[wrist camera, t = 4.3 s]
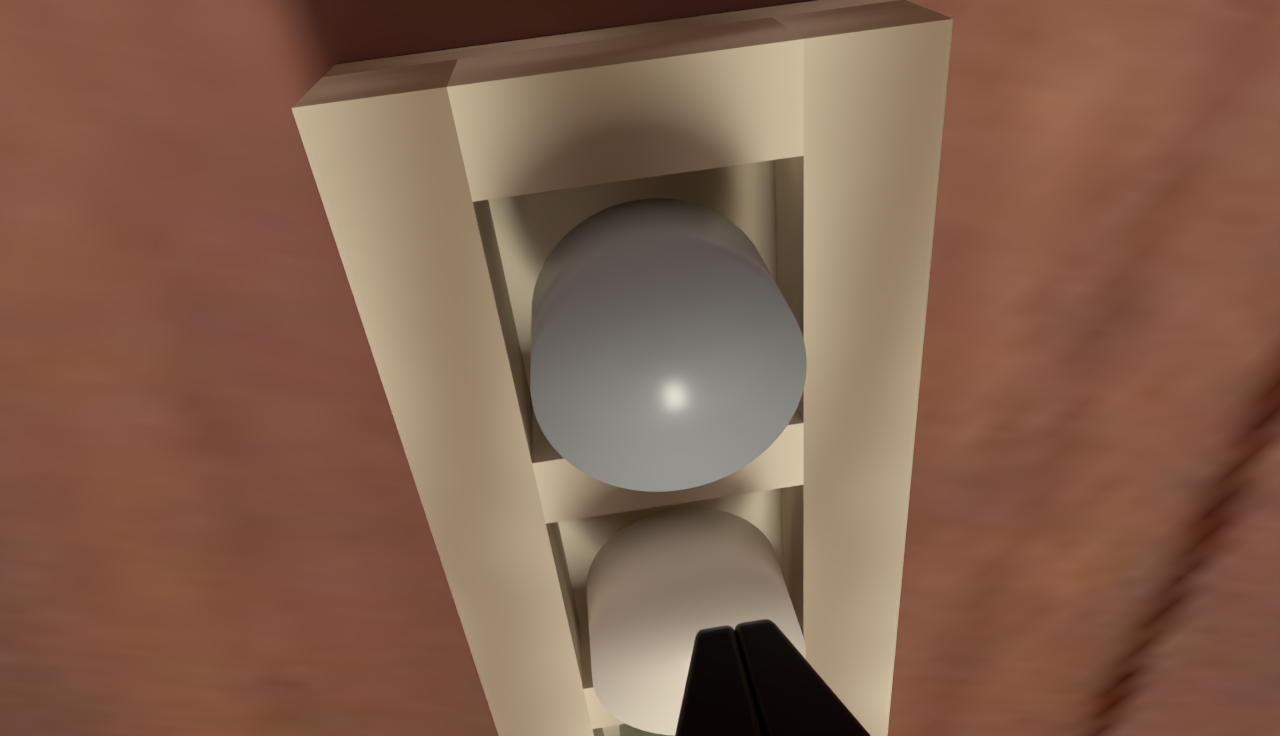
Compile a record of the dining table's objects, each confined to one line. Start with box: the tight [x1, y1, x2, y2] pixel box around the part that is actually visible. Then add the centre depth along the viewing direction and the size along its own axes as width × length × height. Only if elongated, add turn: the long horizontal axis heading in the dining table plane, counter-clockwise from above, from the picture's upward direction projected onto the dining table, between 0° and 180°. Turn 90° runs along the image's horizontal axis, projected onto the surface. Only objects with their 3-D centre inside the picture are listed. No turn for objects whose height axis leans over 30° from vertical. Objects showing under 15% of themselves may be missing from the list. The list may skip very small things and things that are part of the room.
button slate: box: [530, 198, 807, 492], centre depth 14 cm, size 4×4×2 cm
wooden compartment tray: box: [292, 0, 953, 736], centre depth 20 cm, size 10×23×3 cm, turn 6°
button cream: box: [586, 508, 806, 735], centre depth 18 cm, size 4×4×2 cm
